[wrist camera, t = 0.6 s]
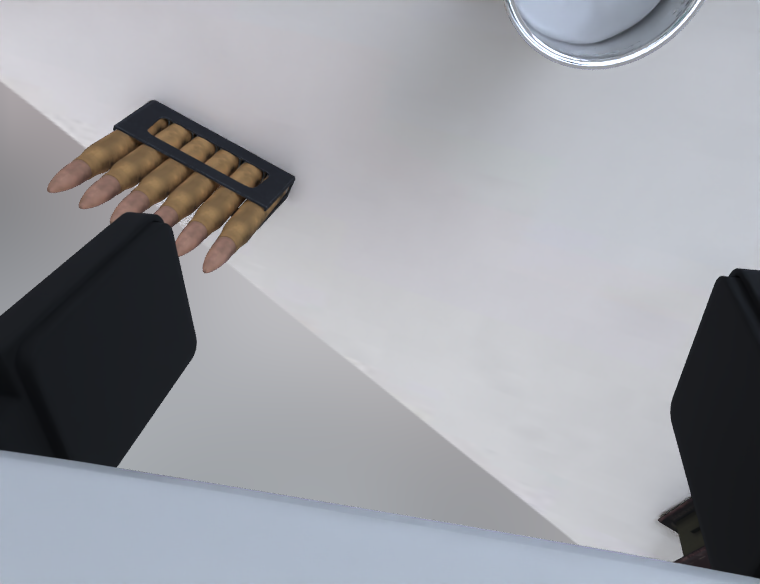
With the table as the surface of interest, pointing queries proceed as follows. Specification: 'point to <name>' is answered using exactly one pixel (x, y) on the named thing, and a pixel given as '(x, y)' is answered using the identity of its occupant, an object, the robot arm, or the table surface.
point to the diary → (688, 534)
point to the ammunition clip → (180, 179)
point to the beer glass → (599, 28)
